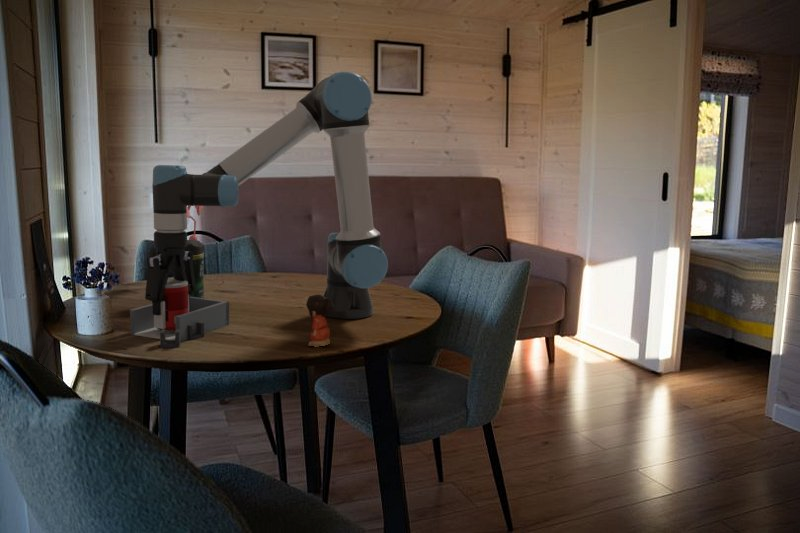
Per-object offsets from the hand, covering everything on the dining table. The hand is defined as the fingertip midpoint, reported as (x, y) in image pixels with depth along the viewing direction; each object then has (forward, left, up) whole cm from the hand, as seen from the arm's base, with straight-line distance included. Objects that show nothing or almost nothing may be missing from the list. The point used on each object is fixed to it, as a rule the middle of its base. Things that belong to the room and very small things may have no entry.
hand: (172, 323), depth 161 cm
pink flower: (+33, -55, -2) cm, 64 cm away
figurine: (-36, -8, -2) cm, 37 cm away
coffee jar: (+16, -27, -2) cm, 32 cm away
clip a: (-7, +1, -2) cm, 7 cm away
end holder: (0, -4, -2) cm, 4 cm away
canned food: (0, 0, -1) cm, 1 cm away
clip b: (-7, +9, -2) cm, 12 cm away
